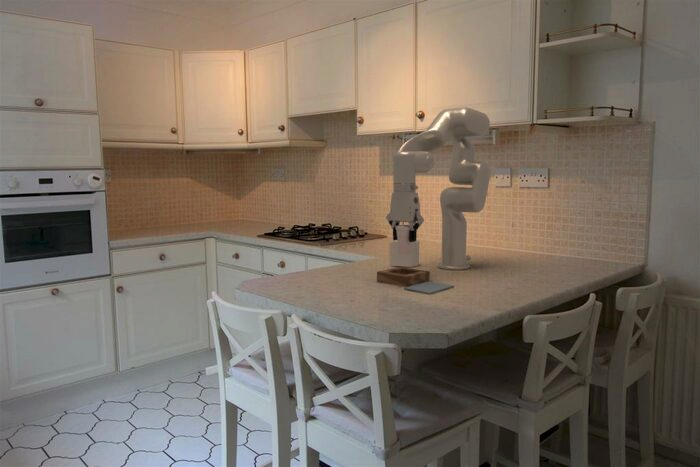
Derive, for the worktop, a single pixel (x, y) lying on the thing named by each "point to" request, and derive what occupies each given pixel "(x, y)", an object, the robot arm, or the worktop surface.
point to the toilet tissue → (404, 260)
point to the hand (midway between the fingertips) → (404, 240)
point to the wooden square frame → (403, 276)
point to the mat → (429, 287)
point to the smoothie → (403, 239)
